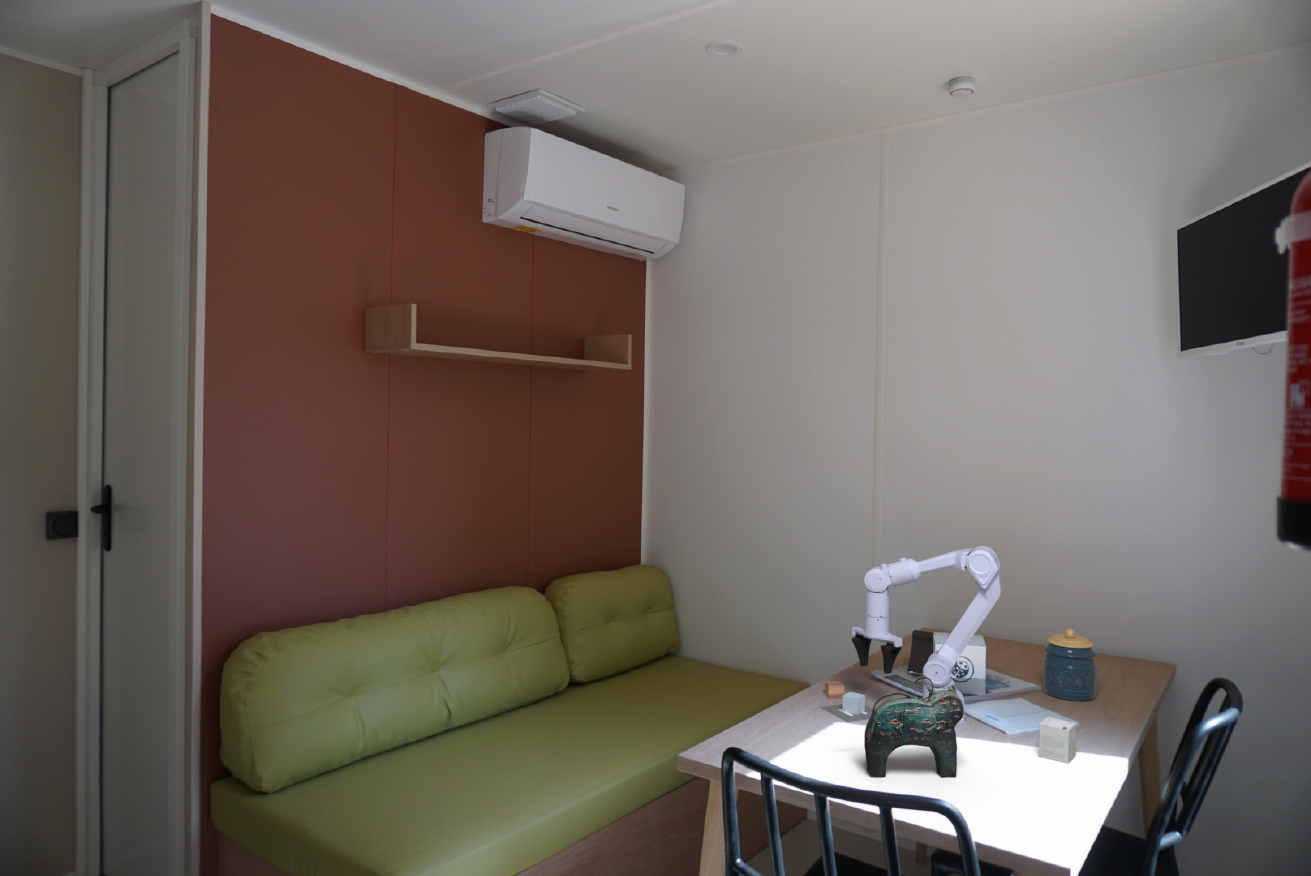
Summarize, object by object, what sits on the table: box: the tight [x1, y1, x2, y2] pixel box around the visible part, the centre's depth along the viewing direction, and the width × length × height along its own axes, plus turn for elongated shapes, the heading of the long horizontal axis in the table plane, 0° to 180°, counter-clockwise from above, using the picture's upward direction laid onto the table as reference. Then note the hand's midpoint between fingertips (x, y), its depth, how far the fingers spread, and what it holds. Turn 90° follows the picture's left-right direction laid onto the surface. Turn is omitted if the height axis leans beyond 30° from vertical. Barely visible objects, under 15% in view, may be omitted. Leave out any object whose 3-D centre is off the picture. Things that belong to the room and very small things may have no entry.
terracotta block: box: [824, 681, 845, 700], centre depth 221 cm, size 4×4×4 cm
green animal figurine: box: [863, 676, 965, 779], centre depth 171 cm, size 20×6×20 cm, turn 92°
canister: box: [1042, 628, 1098, 702], centre depth 227 cm, size 13×13×18 cm
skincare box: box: [1038, 716, 1077, 765], centre depth 182 cm, size 6×6×7 cm
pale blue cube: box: [842, 691, 866, 715], centre depth 209 cm, size 4×4×4 cm
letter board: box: [819, 703, 873, 723], centre depth 208 cm, size 12×12×1 cm
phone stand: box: [907, 629, 935, 673], centre depth 247 cm, size 9×6×12 cm, turn 143°
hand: (875, 669), depth 211 cm, fingers open, 7 cm apart
